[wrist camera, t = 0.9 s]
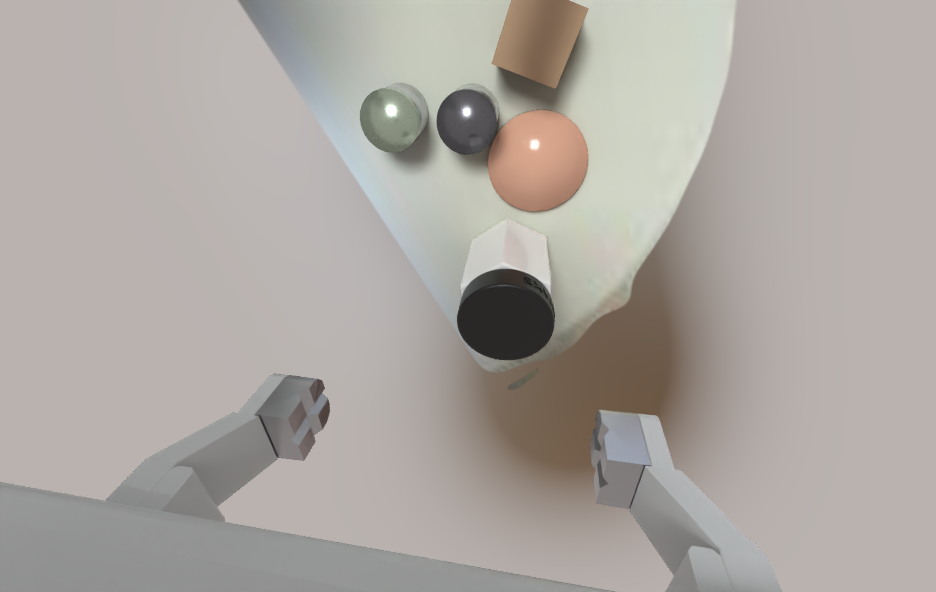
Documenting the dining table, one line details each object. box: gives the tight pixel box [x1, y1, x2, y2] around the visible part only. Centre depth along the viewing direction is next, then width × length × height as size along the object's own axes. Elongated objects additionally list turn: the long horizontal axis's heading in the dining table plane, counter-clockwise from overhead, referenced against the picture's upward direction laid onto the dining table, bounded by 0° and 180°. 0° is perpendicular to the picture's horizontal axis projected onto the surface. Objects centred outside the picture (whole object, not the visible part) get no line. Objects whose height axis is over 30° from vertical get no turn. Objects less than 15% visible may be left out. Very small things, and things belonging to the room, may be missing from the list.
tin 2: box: [437, 84, 499, 155], centre depth 33 cm, size 5×5×5 cm
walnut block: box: [492, 0, 588, 89], centre depth 29 cm, size 5×5×5 cm
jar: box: [457, 219, 555, 360], centre depth 38 cm, size 9×8×12 cm
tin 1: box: [360, 83, 428, 153], centre depth 34 cm, size 5×5×5 cm
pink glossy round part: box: [488, 109, 588, 211], centre depth 36 cm, size 9×9×1 cm
